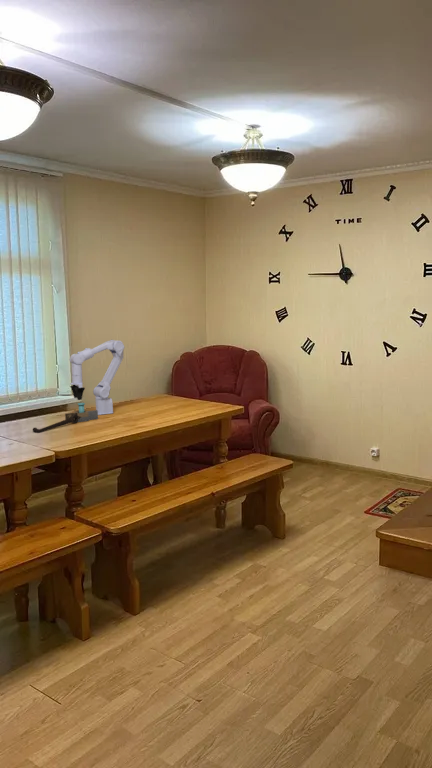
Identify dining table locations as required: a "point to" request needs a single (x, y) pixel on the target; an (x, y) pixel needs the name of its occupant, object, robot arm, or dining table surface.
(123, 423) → the dining table surface
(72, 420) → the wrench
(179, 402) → the dining table surface
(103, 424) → the dining table surface
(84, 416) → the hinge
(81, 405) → the pin
